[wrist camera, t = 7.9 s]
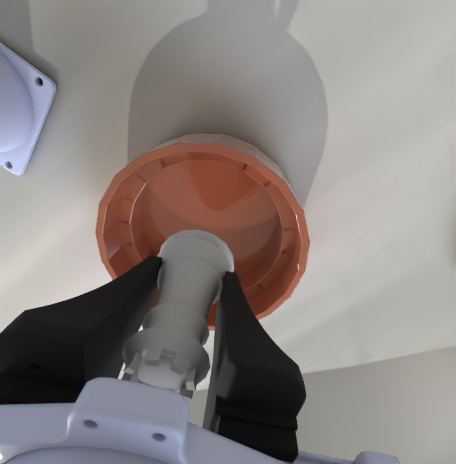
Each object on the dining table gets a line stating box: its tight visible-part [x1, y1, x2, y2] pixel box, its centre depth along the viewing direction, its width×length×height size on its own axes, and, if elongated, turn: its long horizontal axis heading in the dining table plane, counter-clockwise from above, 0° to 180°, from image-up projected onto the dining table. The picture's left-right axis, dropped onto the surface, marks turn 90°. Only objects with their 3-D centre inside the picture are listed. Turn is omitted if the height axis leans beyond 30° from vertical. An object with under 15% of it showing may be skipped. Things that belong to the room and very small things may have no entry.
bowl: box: [95, 133, 310, 331], centre depth 20 cm, size 14×14×5 cm
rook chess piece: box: [122, 230, 234, 402], centre depth 13 cm, size 4×4×8 cm
